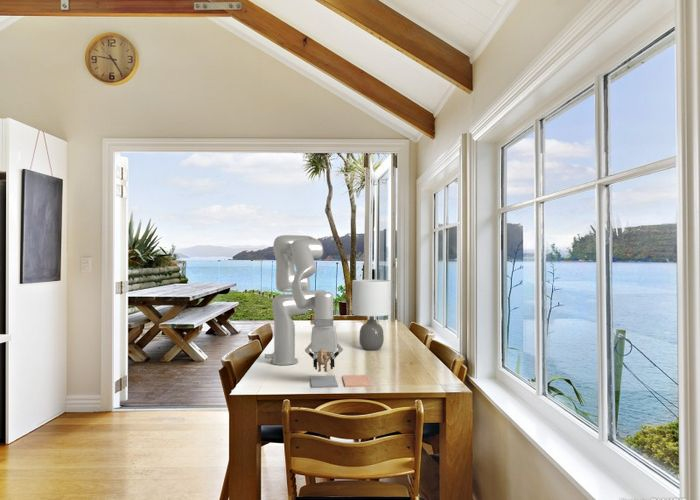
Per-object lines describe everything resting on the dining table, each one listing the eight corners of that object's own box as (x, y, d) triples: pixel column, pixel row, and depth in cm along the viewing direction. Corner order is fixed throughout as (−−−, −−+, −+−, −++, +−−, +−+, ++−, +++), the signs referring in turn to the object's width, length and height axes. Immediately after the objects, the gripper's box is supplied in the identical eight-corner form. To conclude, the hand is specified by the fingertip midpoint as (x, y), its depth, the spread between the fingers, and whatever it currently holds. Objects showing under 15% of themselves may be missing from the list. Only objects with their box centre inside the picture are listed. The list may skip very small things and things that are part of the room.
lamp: (345, 347, 271) (345, 280, 271) (377, 344, 281) (377, 279, 281) (364, 354, 253) (365, 282, 253) (398, 350, 263) (398, 281, 263)
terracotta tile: (345, 388, 191) (345, 385, 191) (342, 378, 207) (342, 375, 207) (371, 388, 191) (371, 385, 191) (366, 377, 207) (366, 374, 207)
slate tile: (311, 389, 189) (311, 386, 189) (310, 379, 205) (310, 376, 205) (338, 388, 190) (338, 385, 190) (334, 378, 206) (334, 375, 206)
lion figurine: (328, 374, 192) (328, 350, 192) (314, 373, 193) (314, 350, 193) (336, 366, 206) (336, 344, 206) (323, 365, 207) (323, 343, 207)
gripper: (302, 324, 194) (302, 371, 193) (346, 324, 195) (346, 370, 195) (302, 322, 201) (302, 367, 201) (344, 321, 203) (344, 366, 202)
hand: (323, 368), depth 198 cm, fingers closed on lion figurine, 5 cm apart
